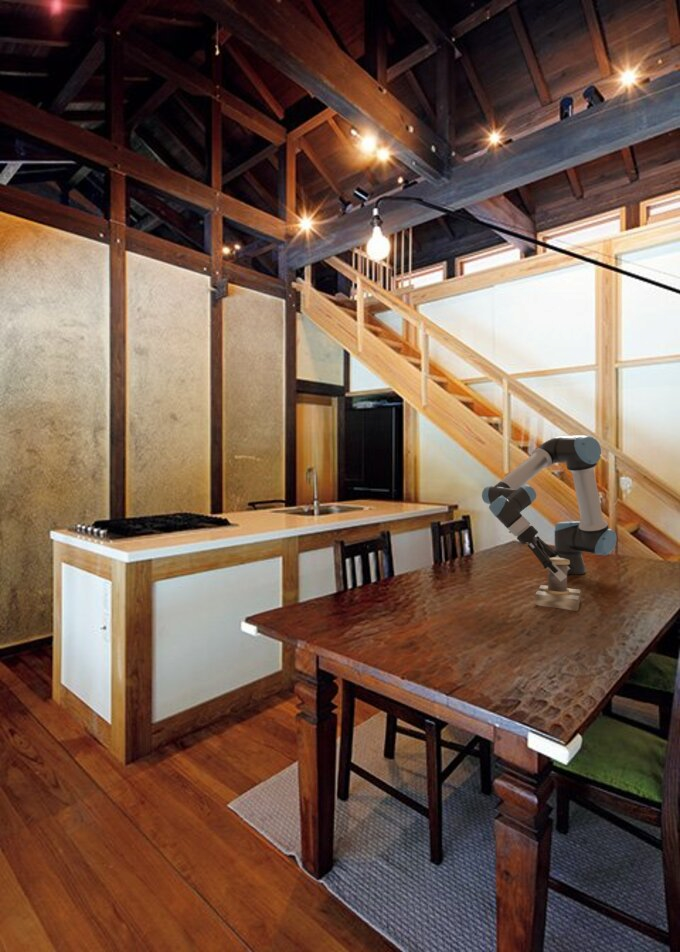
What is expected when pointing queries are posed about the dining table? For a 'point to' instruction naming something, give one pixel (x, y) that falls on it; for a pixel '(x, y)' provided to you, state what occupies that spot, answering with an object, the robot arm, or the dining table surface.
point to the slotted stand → (558, 599)
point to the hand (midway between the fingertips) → (565, 574)
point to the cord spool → (553, 582)
